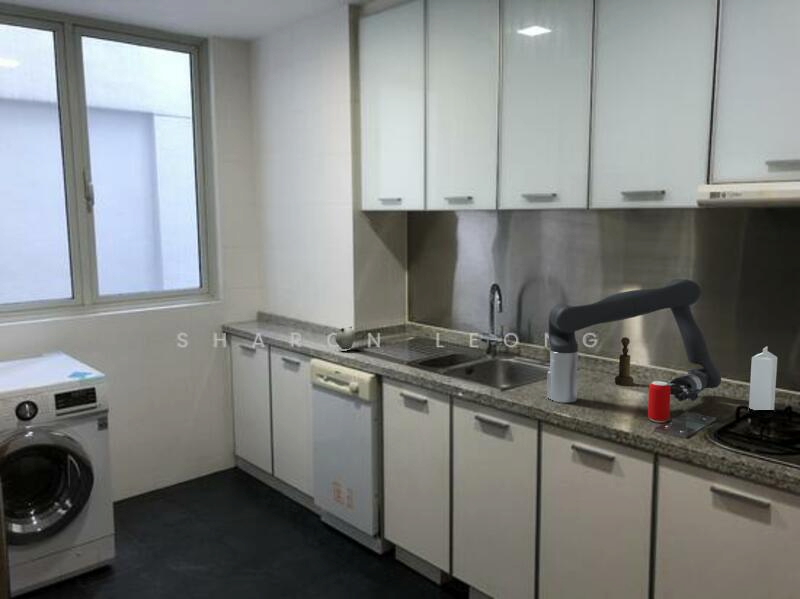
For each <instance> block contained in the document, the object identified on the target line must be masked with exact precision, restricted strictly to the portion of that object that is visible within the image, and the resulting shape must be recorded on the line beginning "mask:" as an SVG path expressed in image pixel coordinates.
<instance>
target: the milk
mask: <svg viewBox="0 0 800 599" xmlns="http://www.w3.org/2000/svg"><path fill="white" fill-rule="evenodd" d="M768 347H769V346H765V347H764V348H762V352H761V353H756V355H753V356H752V357H751V368H750V381H749V382H750V385H749V400H748V402H749V403H748V409H749V408H750V409H753V410H774V411H775V403H776V401H775V400H776V399H775V398H776V388H777V387H776V384H777V369H778V356H776V355H775V354H773V353H772V352H770V351H768V349H769V348H768Z"/></svg>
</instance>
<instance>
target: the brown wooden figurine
mask: <svg viewBox="0 0 800 599" xmlns="http://www.w3.org/2000/svg"><path fill="white" fill-rule="evenodd" d="M620 342H621V345H622V346H623V348H621V350H622V354H619V362H618V363H619V366H618V367H619V368H618V375H616V376H615V377H614V384H615V383H616V384H615V385H618V386H626V387H628V386H634V377H632V376H631V355H629V354H628V353H629V349H628V346H629V344H630V338H629V337H625V336H624V337H622V338H621V340H620Z"/></svg>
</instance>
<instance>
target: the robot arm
mask: <svg viewBox="0 0 800 599" xmlns="http://www.w3.org/2000/svg"><path fill="white" fill-rule="evenodd" d="M699 285H700V284H698V283H697V282H695V281H693V280H690V279H687V278H685V279H684V278H683V279H681V278H678V279H677V278H675V279H672V280H670V281H669V282H667V283H666V285H665V286H662V287H656V288H649V289H648V288H647V289H634V290H628V291H622V292H618V293H614V294H610V295H608V296H606V297H604V298H602V299H601V300H598V301H596V302H593V303H589V304H583V305H575V306H573V305H568V304H566V303H560V304H559V303H558V304H556V305H555V306H552V308H551V310H550V312H549V315H548V341H549V345H550V346H549V347H550V350H549V351H550V353H549V356H550V357H549V362H550V364H549V367H550V368H549V371H547V375H546V376H547V377H546V379H547V380H546V382H547V383H546V384H547V385H546V399H548V398H549V399H548V400H550V399H551V400H550V401H552V400H553V401H552V402H556V403H573V402H574V403H575V402H577V401H578V400H577V396H578V394H577V393H578V368H579V367H578V362H579V361H578V358H579V344H578V340H576V333H575V332H577V331H581V330H584V329H587V328H589V327H592V326H595V325H600V324H607V323H612V322H618V321H623V320H627V319H632V318H636V317H640V316H643V315H647V314H651V313H654V312H657V311H661V310H665V309H670V310H671V313H672V315H673V318H674V320H675V321H676V322H675V323H676V324H677V327H678V329H679V330H678V331H679V334H680V335H681V336H680V337H681V340H682V342H683V347H684V351H685V354H686V357H687V361H688V362H689V363H690V364H694V365H699V366H701V368H693V369H690V370H688V372H687V373H686V374H682V375H680V376H677V377H676V378H675V377H674V378H673V379H672V380H671V381H670V382H669V383H668V384H669V386H670V389H671V391H670V397H674V398H675V399H677V400H678V402H683V401H689V400H691V401H692V402H695V401H697V400H699V399H700V398H701V392H703V391H704V390H705V389H715V388H718V387H720V385H721V383H722V376H721V375H722V374H721V373H720V371H719V369H718V367H717V366H716V364H715V363H714V361H713V359H712V357H711V356H710V352H709V349H708V345H707V342H706V339H705V336H704V334H703V332H702V330H701V328H700V327H699V325H698V324H697V321H696V319H695V318H694V315H693V313H692V310H691V309H692V308H691V306H692V305H694V304H696V302H698V300H699V299H700V297H701V296H702V289H701V287H700V286H699Z"/></svg>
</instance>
